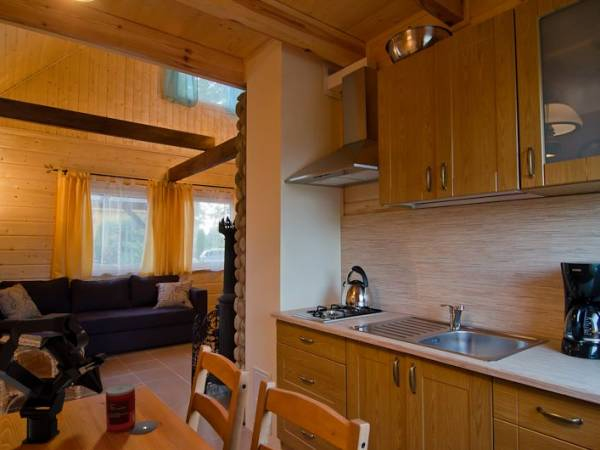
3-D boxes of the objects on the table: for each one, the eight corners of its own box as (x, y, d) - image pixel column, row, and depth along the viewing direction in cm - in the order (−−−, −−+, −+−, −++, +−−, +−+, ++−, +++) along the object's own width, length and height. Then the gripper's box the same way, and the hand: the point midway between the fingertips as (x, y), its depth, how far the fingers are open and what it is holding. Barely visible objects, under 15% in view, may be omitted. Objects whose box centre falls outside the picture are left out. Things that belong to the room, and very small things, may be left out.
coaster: (122, 434, 106) (122, 433, 106) (136, 420, 114) (136, 420, 114) (150, 434, 106) (150, 434, 106) (162, 421, 113) (162, 420, 114)
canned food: (127, 417, 116) (126, 381, 116) (141, 425, 111) (140, 386, 111) (101, 428, 110) (100, 389, 110) (114, 436, 105) (113, 395, 105)
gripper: (68, 363, 122) (101, 398, 121) (22, 385, 103) (60, 427, 102) (92, 338, 122) (125, 373, 120) (50, 355, 103) (88, 398, 102)
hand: (101, 392), depth 111 cm, fingers closed
